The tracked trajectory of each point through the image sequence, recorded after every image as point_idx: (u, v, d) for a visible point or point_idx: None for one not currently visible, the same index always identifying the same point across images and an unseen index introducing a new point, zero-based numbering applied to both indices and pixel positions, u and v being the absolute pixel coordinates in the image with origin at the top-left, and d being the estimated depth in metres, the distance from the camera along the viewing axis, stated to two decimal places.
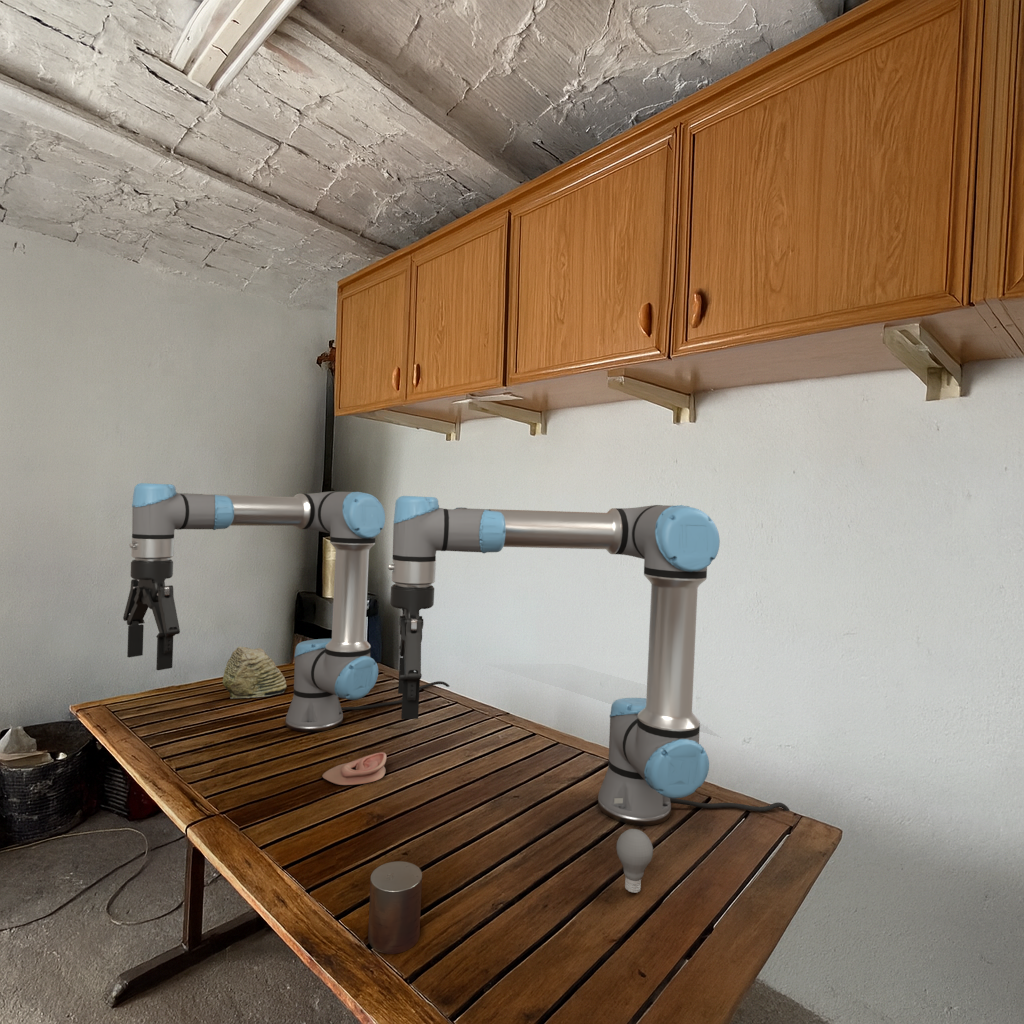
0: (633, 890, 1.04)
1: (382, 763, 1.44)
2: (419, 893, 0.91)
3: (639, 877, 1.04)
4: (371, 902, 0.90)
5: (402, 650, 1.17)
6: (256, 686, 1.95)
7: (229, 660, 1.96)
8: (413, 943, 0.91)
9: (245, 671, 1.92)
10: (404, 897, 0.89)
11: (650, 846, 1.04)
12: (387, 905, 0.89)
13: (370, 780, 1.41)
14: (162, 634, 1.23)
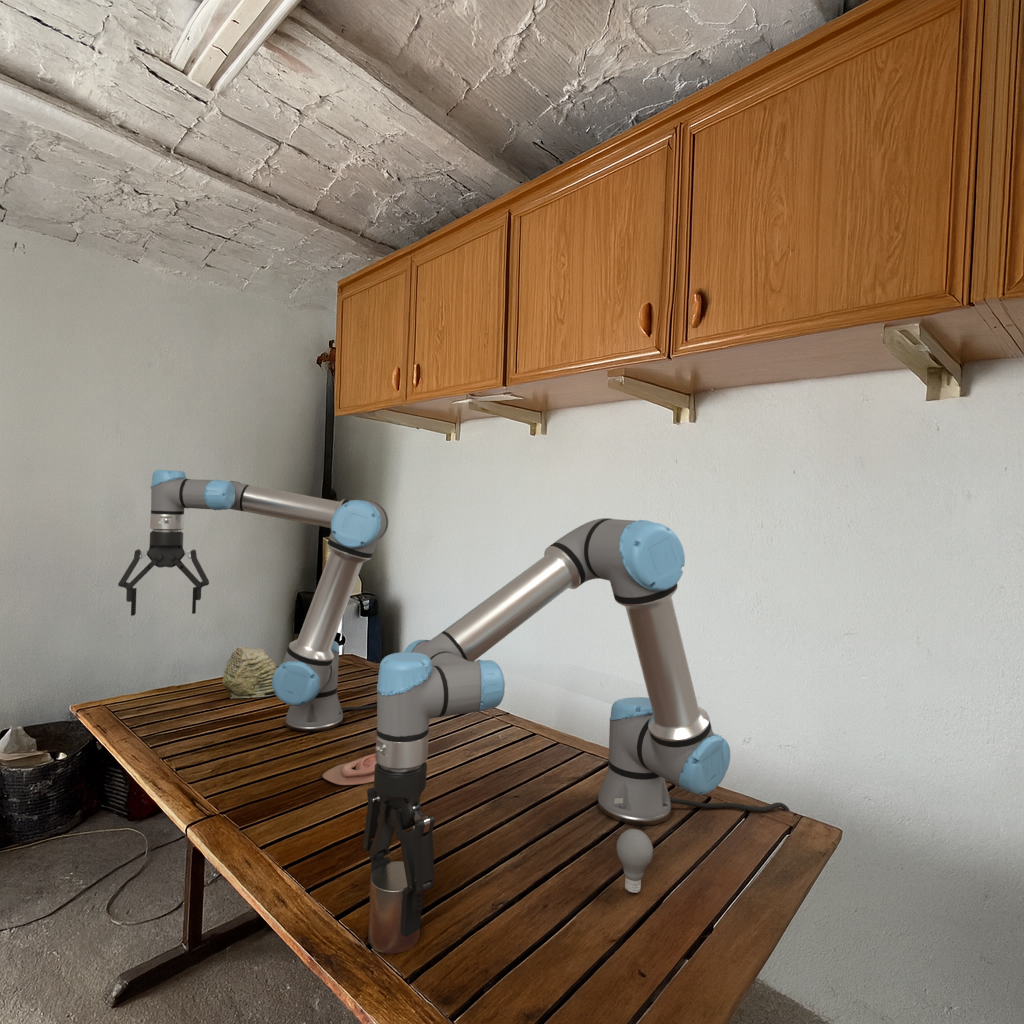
0: (633, 890, 1.04)
1: None
2: None
3: (639, 877, 1.04)
4: (371, 902, 0.90)
5: (377, 850, 0.94)
6: (256, 686, 1.95)
7: (229, 660, 1.96)
8: (413, 943, 0.91)
9: (245, 671, 1.92)
10: None
11: (650, 846, 1.04)
12: (387, 905, 0.89)
13: (370, 780, 1.41)
14: (201, 585, 1.64)
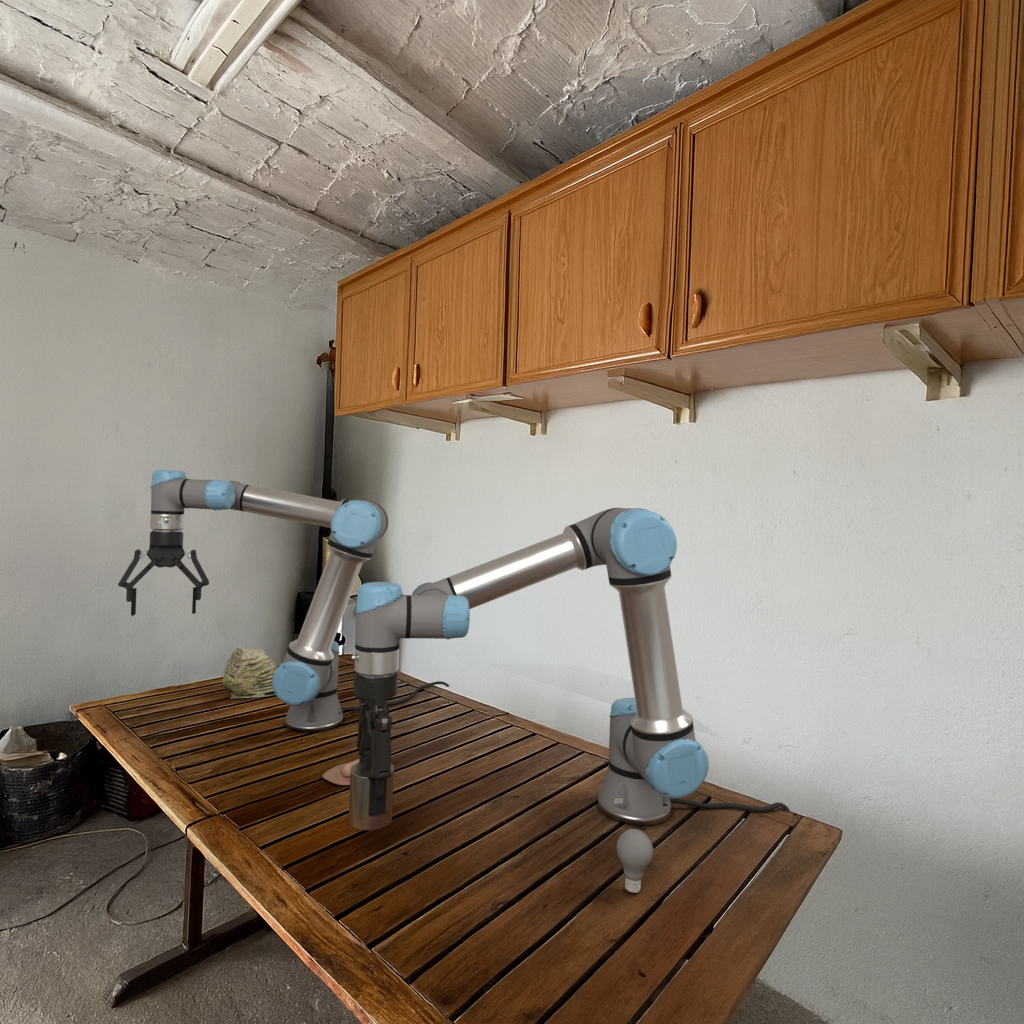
0: (633, 890, 1.04)
1: None
2: (387, 785, 1.08)
3: (639, 877, 1.04)
4: None
5: (362, 747, 1.13)
6: (256, 686, 1.95)
7: (229, 660, 1.96)
8: (380, 826, 1.07)
9: (245, 671, 1.92)
10: None
11: (650, 846, 1.04)
12: (357, 788, 1.07)
13: None
14: (201, 585, 1.64)
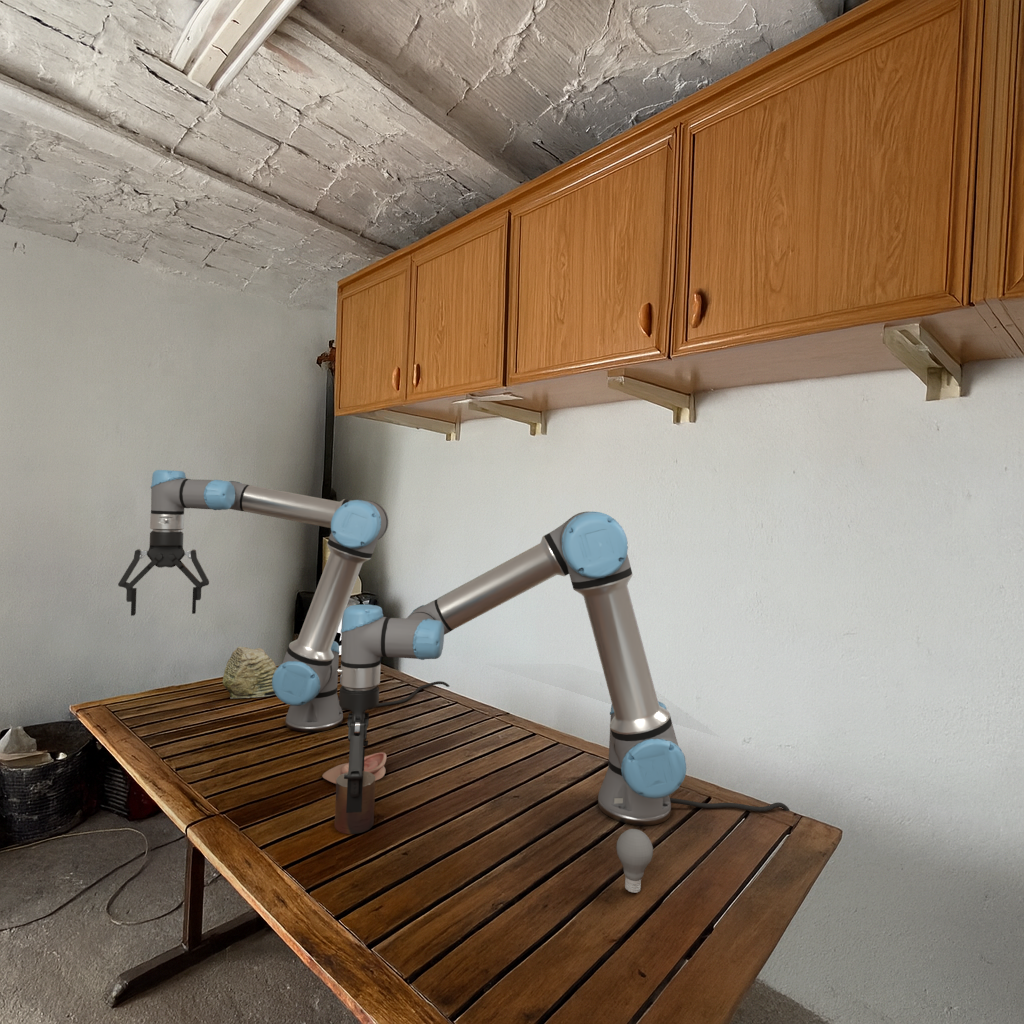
0: (633, 890, 1.04)
1: (382, 763, 1.44)
2: (365, 795, 1.20)
3: (639, 877, 1.04)
4: None
5: None
6: (256, 686, 1.95)
7: (229, 660, 1.96)
8: (358, 831, 1.20)
9: (245, 671, 1.92)
10: None
11: (650, 846, 1.04)
12: (339, 795, 1.20)
13: None
14: (201, 585, 1.64)
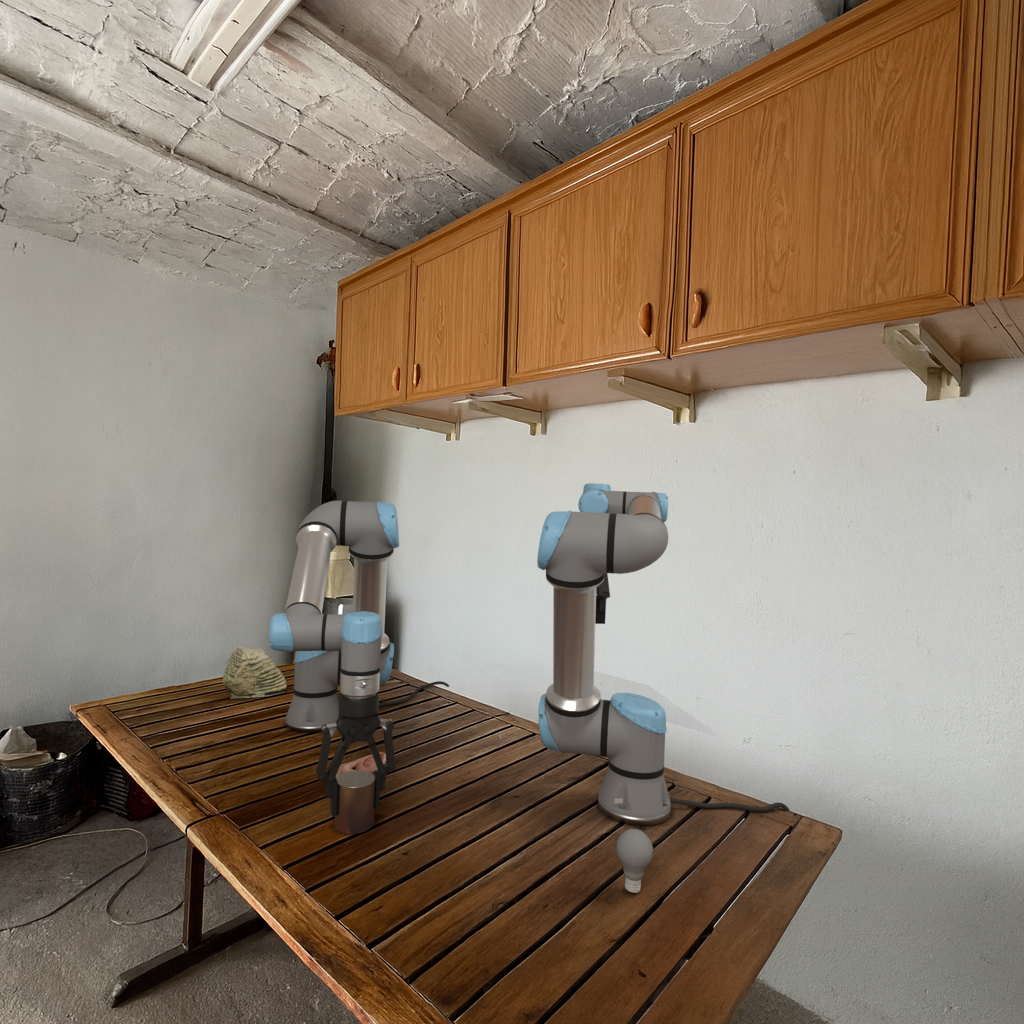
0: (633, 890, 1.04)
1: None
2: (365, 795, 1.20)
3: (639, 877, 1.04)
4: None
5: None
6: (256, 686, 1.95)
7: (229, 660, 1.96)
8: (358, 831, 1.20)
9: (245, 671, 1.92)
10: (349, 792, 1.19)
11: (650, 846, 1.04)
12: (339, 795, 1.20)
13: None
14: None
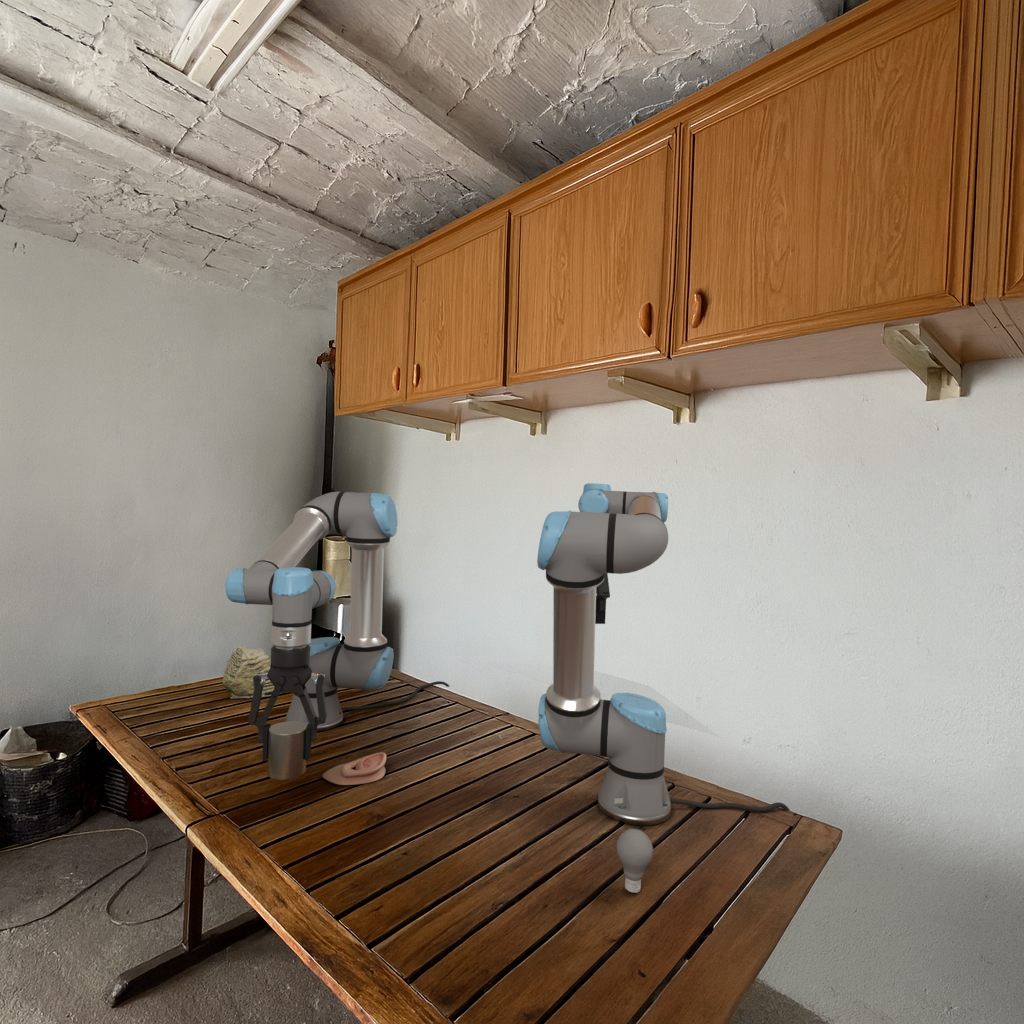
0: (633, 890, 1.04)
1: (382, 763, 1.44)
2: (290, 743, 1.24)
3: (639, 877, 1.04)
4: None
5: None
6: None
7: (229, 660, 1.96)
8: (283, 777, 1.24)
9: (245, 671, 1.92)
10: (275, 739, 1.24)
11: (650, 846, 1.04)
12: (268, 741, 1.25)
13: (370, 780, 1.41)
14: (315, 724, 1.27)
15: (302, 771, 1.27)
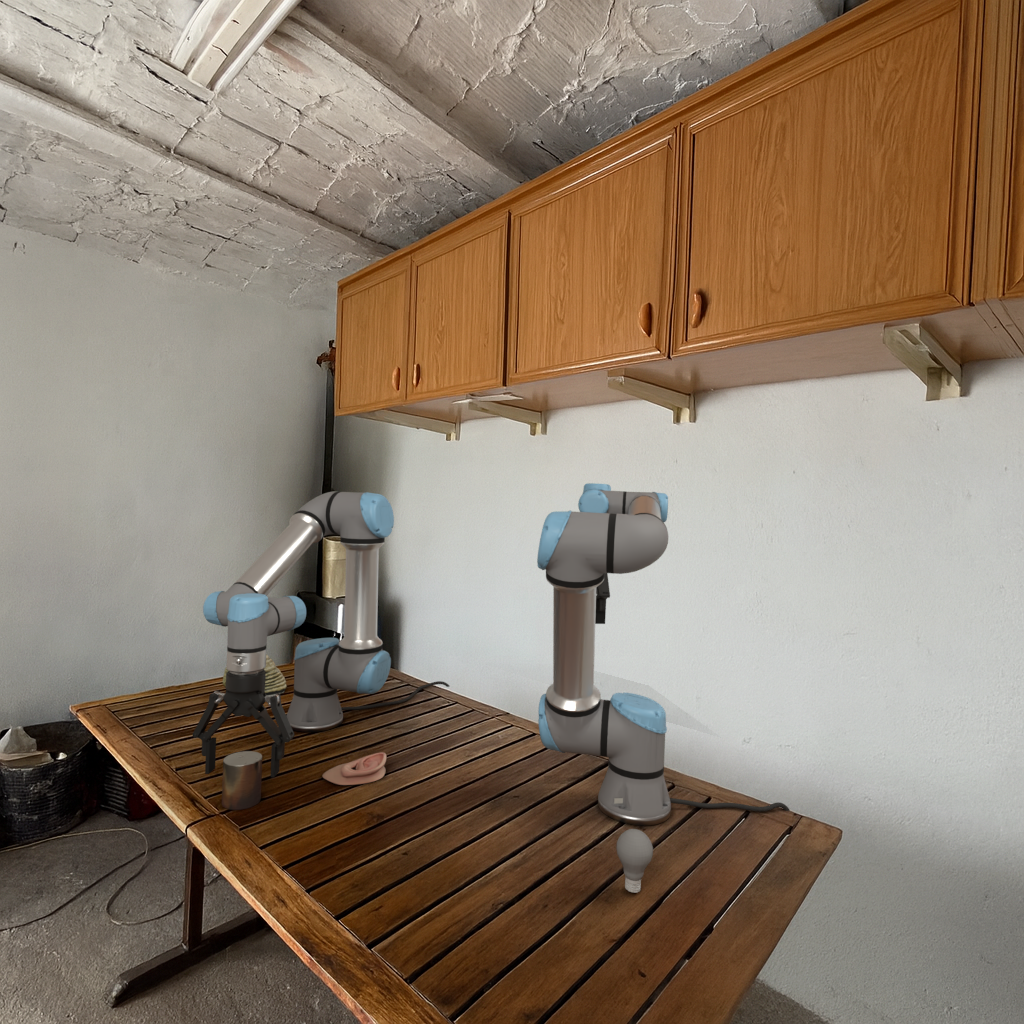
0: (633, 890, 1.04)
1: (382, 763, 1.44)
2: (240, 775, 1.27)
3: (639, 877, 1.04)
4: None
5: None
6: None
7: None
8: (233, 807, 1.27)
9: None
10: (226, 769, 1.27)
11: (650, 846, 1.04)
12: None
13: (370, 780, 1.41)
14: (281, 742, 1.29)
15: (254, 802, 1.29)
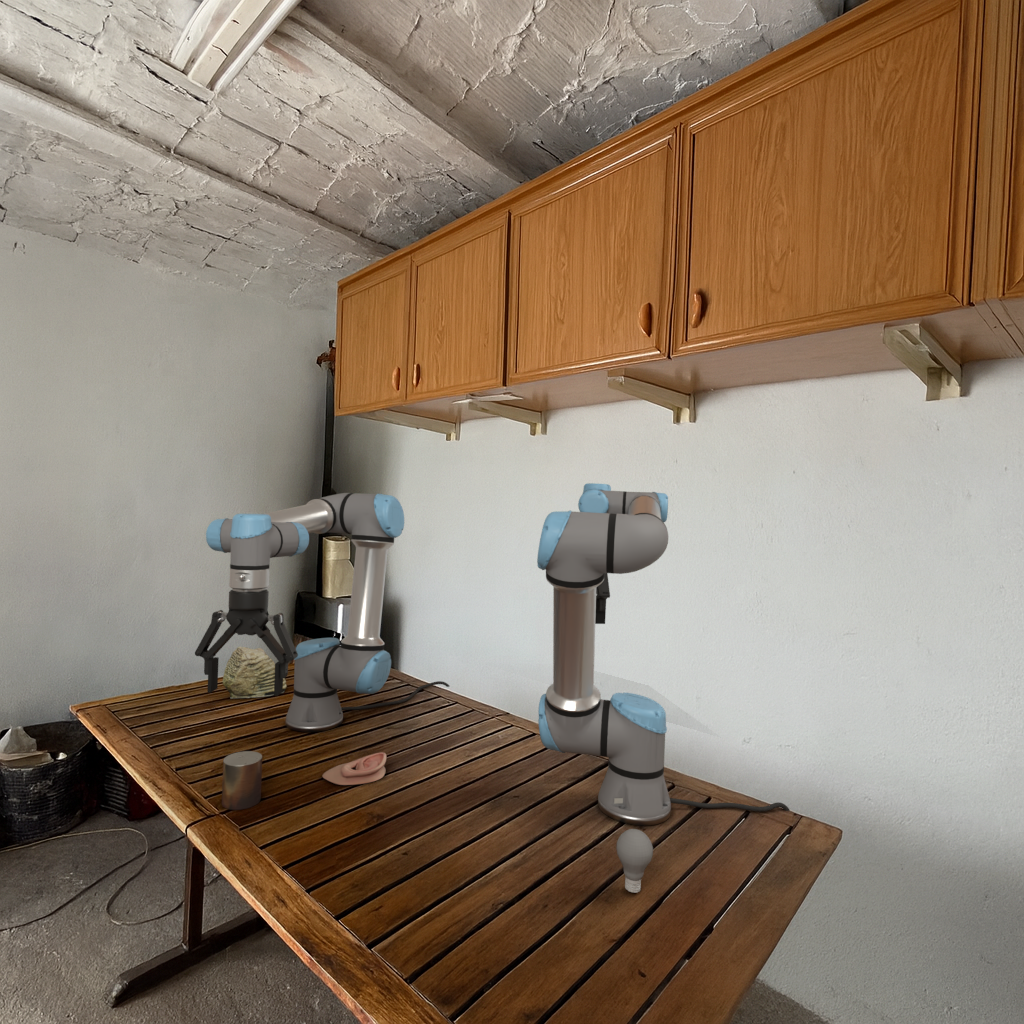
0: (633, 890, 1.04)
1: (382, 763, 1.44)
2: (240, 775, 1.27)
3: (639, 877, 1.04)
4: None
5: None
6: (256, 686, 1.95)
7: (229, 660, 1.96)
8: (233, 807, 1.27)
9: (245, 671, 1.92)
10: (226, 769, 1.27)
11: (650, 846, 1.04)
12: None
13: (370, 780, 1.41)
14: (284, 660, 1.29)
15: (254, 802, 1.29)
